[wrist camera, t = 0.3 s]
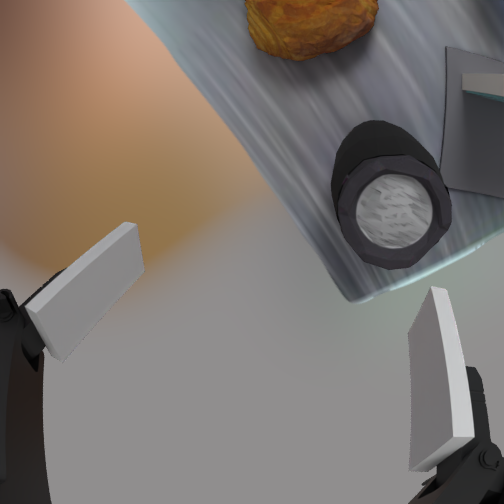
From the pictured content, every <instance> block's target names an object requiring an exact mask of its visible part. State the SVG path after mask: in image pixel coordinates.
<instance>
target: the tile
mask: <svg viewBox="0 0 504 504" xmlns="http://www.w3.org/2000/svg"><path fill="white" fill-rule="evenodd" d="M462 90H466V93H470V94H474V95H478V96H482V97H485V98H489V99H492V100H496V101H499V102H502V103H504V74H462Z"/></svg>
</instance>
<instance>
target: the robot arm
mask: <svg viewBox="0 0 504 504" xmlns="http://www.w3.org/2000/svg"><path fill="white" fill-rule="evenodd" d="M144 272H145V270H144V264H143V258H142V253H141V246H140V239H139V233H138V226H137V224H134V223H129V222H124V223H122V224H121V225H120V226H119V227H117V228H116V229H115V230H113V231H112V232H111V233H110V234H108V235H107V236H106V237H105V238H103V239H102V240H101V241H99V242H98V243H97V244H96V245H94V246H93V247H92V248H91V249H89V250H88V251H87V252H86V253H85V254H83V255H82V256H81V257H80V258H78V259H77V260H76V261H75V262H74V263H73V264H71V265H70V266H69V267H68V268H65V269H63V270H61V271H59V272H58V273H56V274H55V275H54V276H53V277H51V278H50V279H49V281H47V282H46V283H45V284H43V286H42V287H40V288H39V289H38V290H37V291H36V292H35V293H33V294H32V295H31V297H29V298H28V299H27V300H26V301H25V302H24V303H23V304H22V305H20V306H19V307H18V305H17V302H16V301H15V298H14V296H13V294H12V292H11V291H10V290H8V289H1V290H0V504H52V503H51V500H50V493H49V486H48V479H47V470H46V462H45V450H44V434H43V371H44V353H43V351H42V350H43V349H44V347H45V346H46V348H47V349H48V351H49V353H50V354H51V356H53V357H54V358H56V359H57V360H59V361H61V362H62V363H63V362H64V361H65V360H66V359H67V358H68V356H69V355H70V354H71V353H72V352H73V351H74V349H75V348H76V347H77V346H78V345H79V344H80V342H81V341H82V340H83V339H84V338H85V336H86V335H87V334H88V333H89V332H90V331H91V330H92V329H93V327H94V326H95V325H96V324H97V323H98V322H99V321H100V320H101V319H102V317H103V316H104V315H105V314H106V313H107V312H108V311H109V309H111V307H112V306H113V305H114V304H115V303H116V302H117V300H119V299H120V297H121V296H122V295H123V294H124V293H125V292H126V291H127V290H128V289H129V288H130V287H131V286H132V285H133V284H134V283H135V281H136V280H137V279H138V278H139V277H140V276H141V275H142V274H143V273H144ZM408 339H409V340H408V341H409V355H410V375H411V439H410V441H411V442H410V458H409V471H420V472H423V471H424V472H428V471H429V470H431V469H432V468H434V467H435V466H437V474H436V475H434V476H433V477H431V478H429V479H428V480H426V481H425V482H423V483H422V485H423V486H424V485H425V486H424V487H423V488H422V490H421V491H420V492H419V493H418V494H417V495H416V496H415V497H414V498H413V499H412V500H411V501H410V502H409V503H408V504H504V457H502V455H501V451H500V449H499V448H498V447H497V445H495V444H494V443H492V442H491V439H490V430H489V423H488V414H487V407H486V404H485V395H484V394H483V392H484V389H483V384H482V379H481V377H480V375H479V373H478V372H477V370H476V368H475V367H468V366H465V362H464V357H463V352H462V348H461V343H460V338H459V334H458V330H457V326H456V322H455V318H454V314H453V310H452V307H451V303H450V300H449V296H448V293H447V289H443V288H438V287H434V286H431V287H430V289H429V291H428V294H427V296H426V298H425V300H424V302H423V304H422V306H421V308H420V311H419V312H418V315H417V316H416V319H415V320H414V322H413V324H412V326H411V328H410V330H409V332H408Z"/></svg>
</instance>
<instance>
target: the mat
mask: <svg viewBox="0 0 504 504" xmlns="http://www.w3.org/2000/svg"><path fill="white" fill-rule="evenodd" d="M445 48H446V101H445V120H444V133H443V144H442V153H441V161H440V169H439V171H440V173H441V175H442V178H443V181H444V184H445V185H446V186H447V187H448V188H454V189H460V190H465V191H471V192H476V193H481V194H486V195H491V196H496V197H501V198H504V103H502V102H499V101H496V100H492V99H489V98H485V97H482V96H478V95H474V94H470V93H466V90H462V74H504V63H503V62H500V61H497V60H494V59H491V58H488V57H485V56H481V55H478V54H474V53H471V52H467V51H463V50H459V49H455V48H451V47H447V46H446V47H445Z"/></svg>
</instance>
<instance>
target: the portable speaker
mask: <svg viewBox="0 0 504 504" xmlns="http://www.w3.org/2000/svg"><path fill="white" fill-rule="evenodd" d="M331 191H332V198H333V202H334V207H335V211H336V216H337V219H338V221H339V223H340V226H341V231H342V233H343V236H344V238H345V239H346V241H347V242H348V243H349V244H350V246H351V247H352V248H353V250H354V251H355V252H356V253H357V255H358V256H359V257H360V258H361V259H362V260H363V261H364V262H367V263H370V264H373V265H376V266H379V267H382V268H385V269H388V270H392V269H401V268H409V267H411V266H412V265H414V264H415V263H417V262H418V261H419V260H420V259H421V258H422V257H423V256H424V255H425V254H426V253H427V252H428V251H429V250H430V249H431V248H432V247H433V246H434V245H435V244H436V243H438V241H439V240H440V238H441V237H442V236H443V235H444V234H445V233H446V232H447V231H448V229H449V227H450V225H451V222H452V216H451V206H452V205H451V200H450V196H449V192H448V188H447V186H446V185H445V184H444V181H443V178H442V175H441V173H440V171H439V169H438V166H437V164H436V162H435V160H434V158H433V157H432V155H431V154H430V153H429V152H428V151H427V150H426V149H425V148H424V147H423V146H422V145H421V144H420V143H419V142H418V141H417V140H416V139H415V138H414V137H413V136H412V135H410V134H409V133H408V132H406V131H405V130H404V129H402V128H401V127H398V126H396V125H393V124H390V123H388V122H385V121H375V120H370V121H367V122H363V123H361V124H360V125H358V126H356V127H354V128H353V130H352V131H351V132H350V133H349V134H348V135H347V136H346V138H345V139H344V140H343V141H342V143H341V145H340V147H339V149H338V151H337V153H336V159H335V164H334V170H333V175H332V180H331Z"/></svg>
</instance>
